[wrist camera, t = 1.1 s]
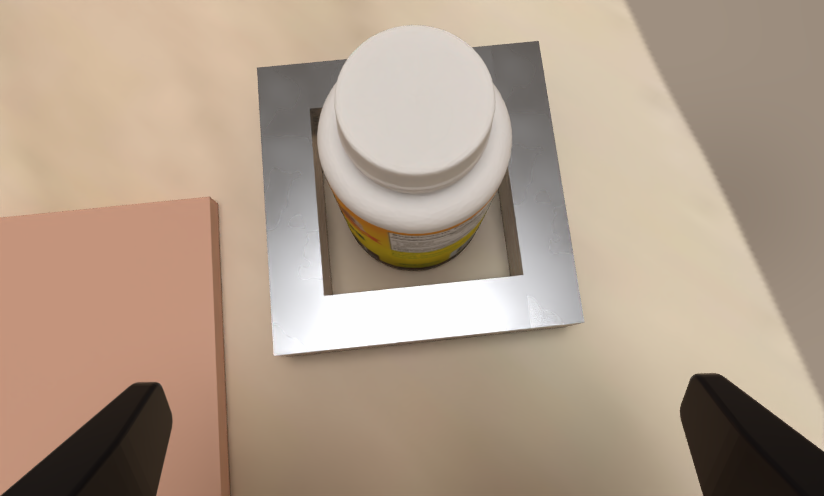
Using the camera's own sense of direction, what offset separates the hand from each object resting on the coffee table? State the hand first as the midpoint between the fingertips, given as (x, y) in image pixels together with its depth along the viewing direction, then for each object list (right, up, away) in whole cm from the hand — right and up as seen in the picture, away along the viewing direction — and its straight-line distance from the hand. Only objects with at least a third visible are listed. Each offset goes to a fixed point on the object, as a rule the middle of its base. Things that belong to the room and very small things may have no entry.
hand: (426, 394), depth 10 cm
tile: (-14, -2, +13) cm, 19 cm away
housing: (0, +4, +14) cm, 15 cm away
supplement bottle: (0, +4, +14) cm, 15 cm away
